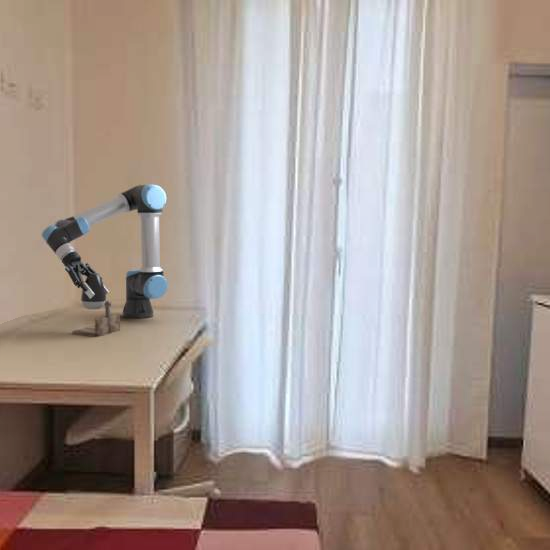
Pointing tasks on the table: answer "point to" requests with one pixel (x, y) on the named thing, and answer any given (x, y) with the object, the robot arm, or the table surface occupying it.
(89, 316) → the table surface
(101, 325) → the stand
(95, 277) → the pump dispenser
